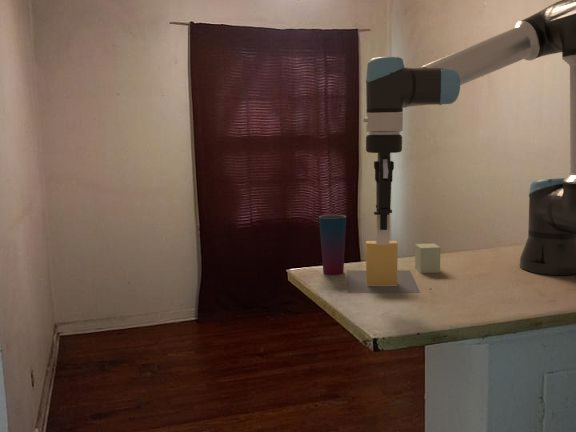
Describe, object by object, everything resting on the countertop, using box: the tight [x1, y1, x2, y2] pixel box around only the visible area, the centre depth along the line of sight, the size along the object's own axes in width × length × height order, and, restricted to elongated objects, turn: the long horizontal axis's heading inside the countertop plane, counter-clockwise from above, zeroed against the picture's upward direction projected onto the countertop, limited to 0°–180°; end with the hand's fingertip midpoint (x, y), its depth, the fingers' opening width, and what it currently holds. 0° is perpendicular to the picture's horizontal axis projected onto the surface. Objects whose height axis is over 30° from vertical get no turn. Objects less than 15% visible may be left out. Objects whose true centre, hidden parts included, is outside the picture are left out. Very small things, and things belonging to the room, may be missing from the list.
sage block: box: [414, 242, 441, 274], centre depth 149 cm, size 5×5×7 cm
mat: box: [346, 269, 421, 294], centre depth 141 cm, size 16×20×1 cm
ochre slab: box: [365, 240, 398, 286], centre depth 137 cm, size 7×3×10 cm, turn 85°
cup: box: [318, 214, 347, 276], centre depth 149 cm, size 7×7×15 cm
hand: (382, 243), depth 127 cm, fingers closed
